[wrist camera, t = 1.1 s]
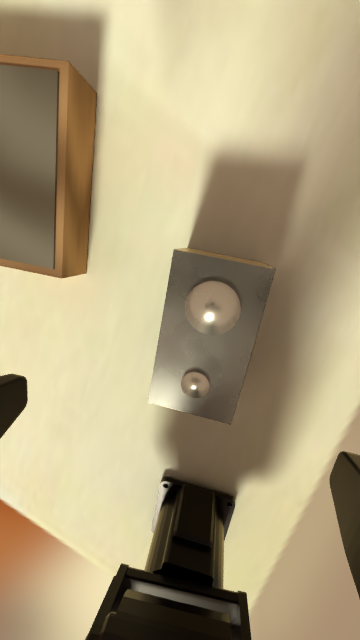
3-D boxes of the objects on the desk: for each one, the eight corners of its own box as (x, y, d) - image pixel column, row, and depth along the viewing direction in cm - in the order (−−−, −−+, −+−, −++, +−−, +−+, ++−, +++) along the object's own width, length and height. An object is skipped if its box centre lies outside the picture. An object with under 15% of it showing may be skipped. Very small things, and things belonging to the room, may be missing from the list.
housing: (230, 381, 20) (230, 426, 15) (166, 366, 21) (146, 404, 16) (262, 262, 17) (276, 269, 12) (188, 247, 18) (173, 249, 13)
